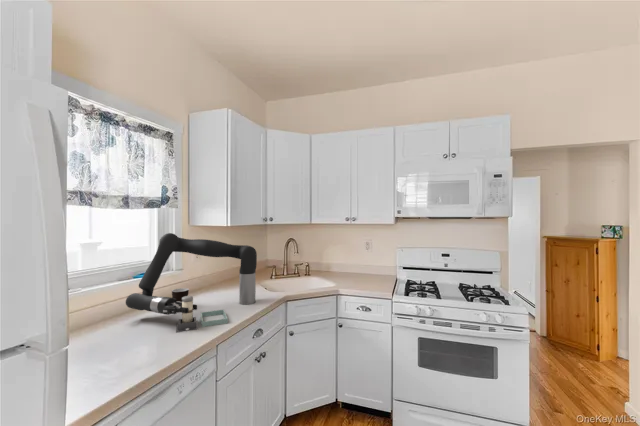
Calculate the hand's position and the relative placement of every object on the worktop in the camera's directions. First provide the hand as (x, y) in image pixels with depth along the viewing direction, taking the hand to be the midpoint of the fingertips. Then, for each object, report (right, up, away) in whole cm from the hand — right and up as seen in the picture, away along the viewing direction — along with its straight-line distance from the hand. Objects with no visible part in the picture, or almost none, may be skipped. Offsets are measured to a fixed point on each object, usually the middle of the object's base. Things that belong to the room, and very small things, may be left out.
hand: (192, 308), depth 131 cm
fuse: (-3, -8, +1) cm, 8 cm away
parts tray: (+6, -9, +9) cm, 14 cm away
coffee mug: (-20, -10, +32) cm, 39 cm away
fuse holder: (-3, -9, +1) cm, 9 cm away
